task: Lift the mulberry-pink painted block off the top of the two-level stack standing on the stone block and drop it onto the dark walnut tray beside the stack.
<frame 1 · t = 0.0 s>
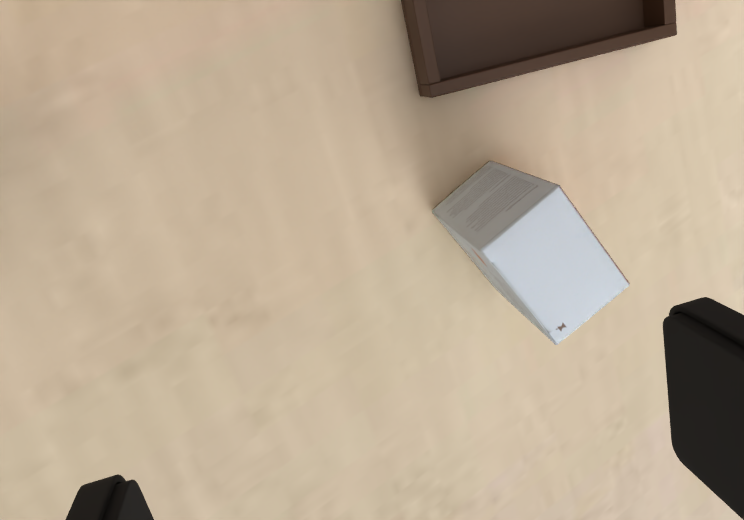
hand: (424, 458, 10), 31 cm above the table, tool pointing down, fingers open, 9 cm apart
small box: (490, 224, 43), on the table
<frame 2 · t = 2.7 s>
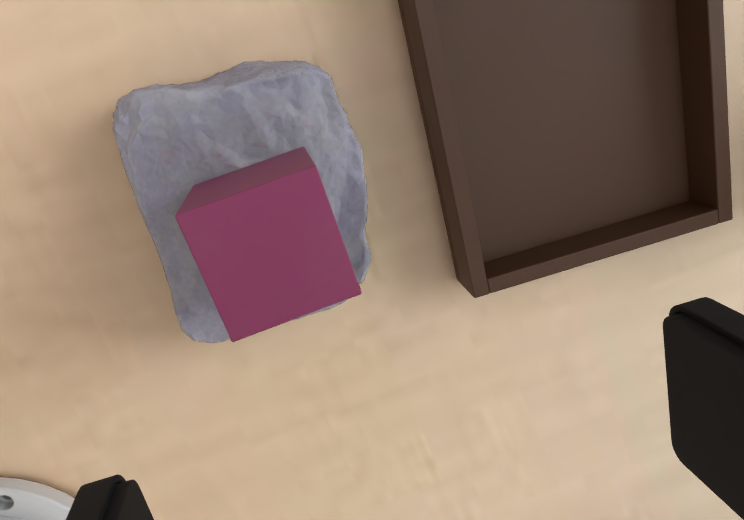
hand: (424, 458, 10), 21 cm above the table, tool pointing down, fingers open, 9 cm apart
stone block: (261, 192, 29), on the table, touching pink block
pink block: (269, 219, 25), point 4 cm above the table, touching stone block
tray: (557, 90, 30), on the table
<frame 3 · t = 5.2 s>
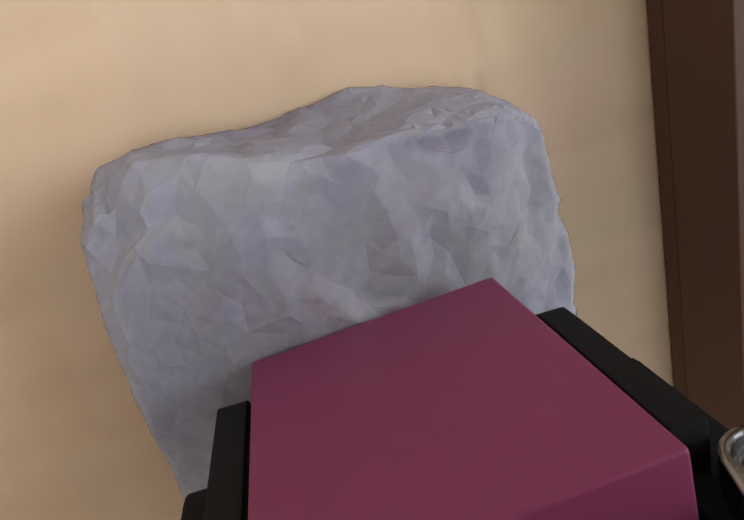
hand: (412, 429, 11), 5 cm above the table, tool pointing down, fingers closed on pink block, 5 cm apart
stone block: (364, 323, 16), on the table, touching pink block
pink block: (407, 421, 12), point 4 cm above the table, touching gripper, stone block
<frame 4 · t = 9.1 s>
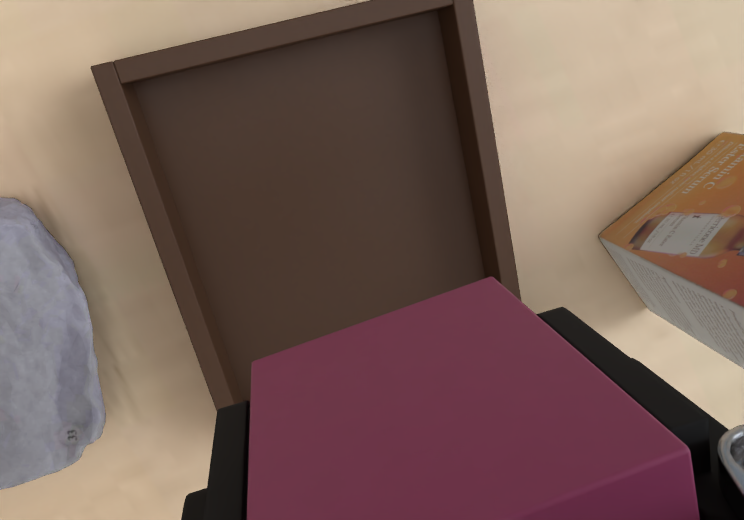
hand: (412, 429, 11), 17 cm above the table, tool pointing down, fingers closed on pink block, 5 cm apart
small box: (679, 223, 30), on the table
pink block: (407, 420, 12), point 16 cm above the table, touching gripper
tray: (333, 219, 27), on the table
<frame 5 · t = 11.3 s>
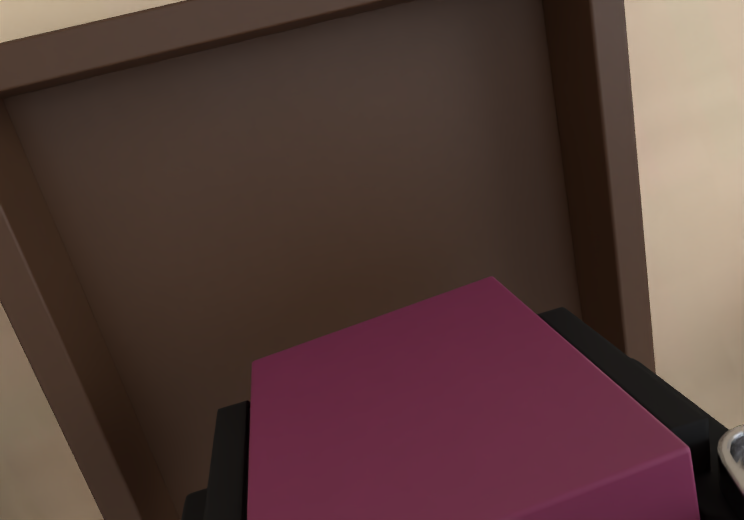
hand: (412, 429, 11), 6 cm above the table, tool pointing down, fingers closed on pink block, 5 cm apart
pink block: (407, 420, 12), point 5 cm above the table, touching gripper
tray: (355, 314, 17), on the table
when the fingers open (1 cm above the table, at t = 12.9 s): pink block stays where it is, resting on tray.
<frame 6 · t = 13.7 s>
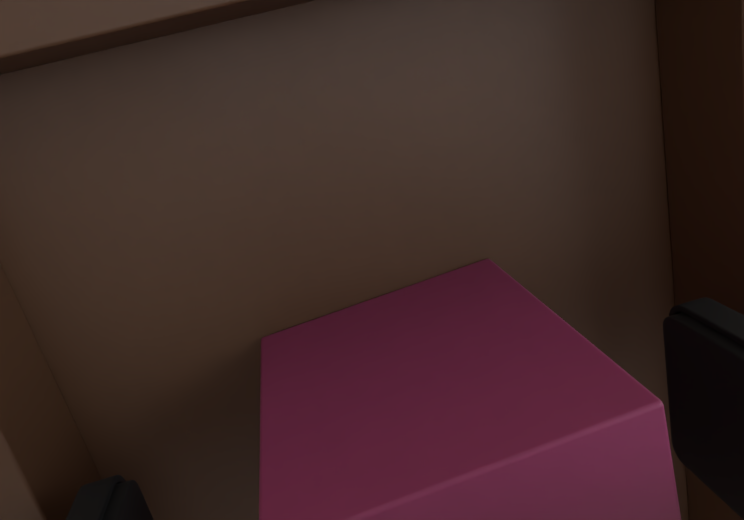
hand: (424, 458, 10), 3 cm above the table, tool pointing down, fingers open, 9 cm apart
pink block: (408, 396, 13), point 1 cm above the table, touching tray
tray: (393, 370, 13), on the table
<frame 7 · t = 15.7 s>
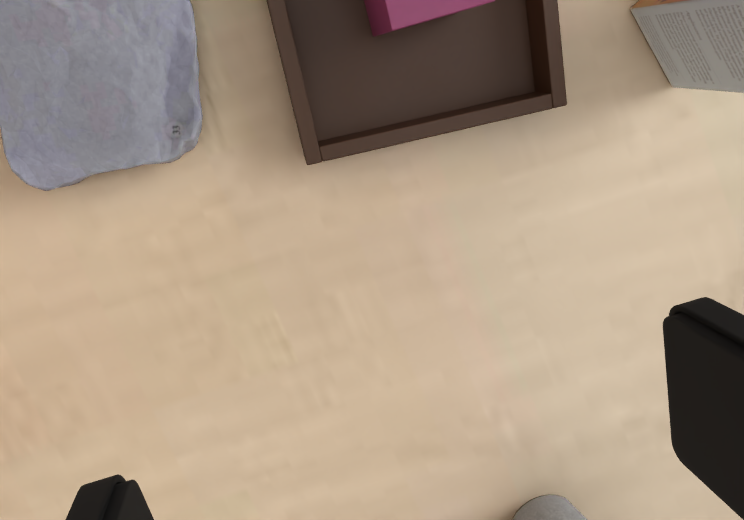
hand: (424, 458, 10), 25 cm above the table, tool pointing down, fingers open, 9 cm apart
stone block: (106, 53, 30), on the table
small box: (703, 5, 34), on the table
house plant: (533, 511, 44), on the table
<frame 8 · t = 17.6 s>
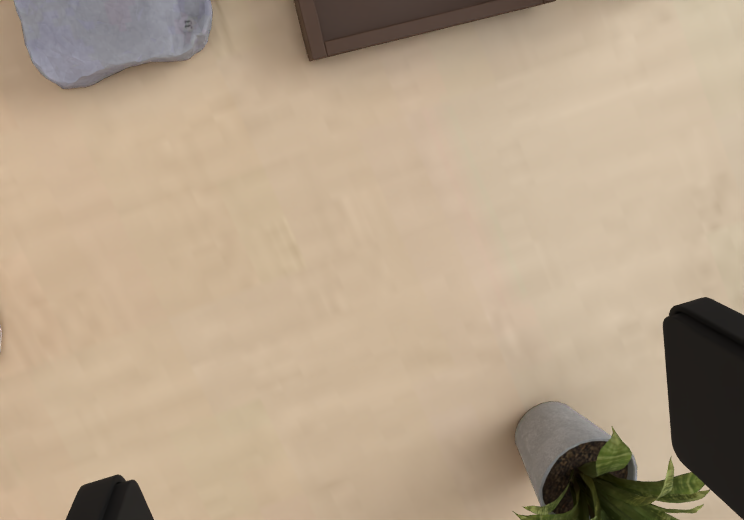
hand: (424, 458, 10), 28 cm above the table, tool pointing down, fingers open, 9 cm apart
house plant: (536, 419, 45), on the table
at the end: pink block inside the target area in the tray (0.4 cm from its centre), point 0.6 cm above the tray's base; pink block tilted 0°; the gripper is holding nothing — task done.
